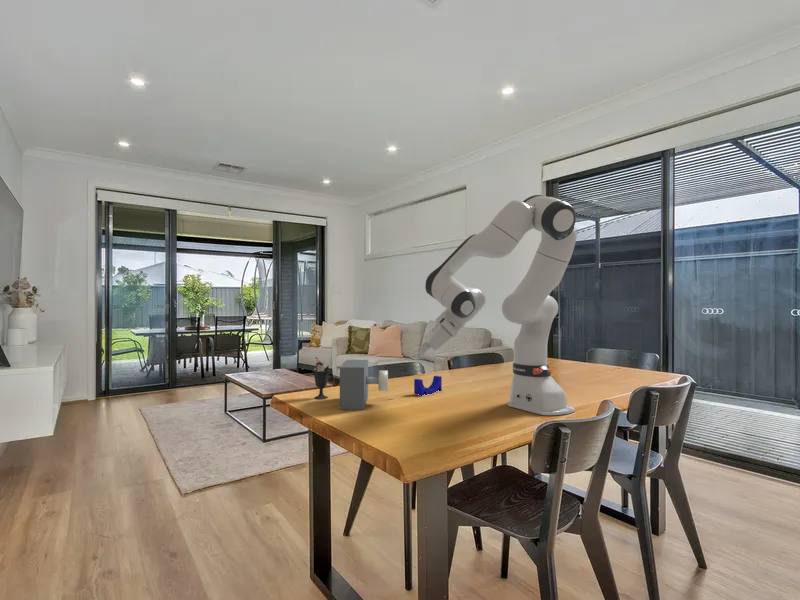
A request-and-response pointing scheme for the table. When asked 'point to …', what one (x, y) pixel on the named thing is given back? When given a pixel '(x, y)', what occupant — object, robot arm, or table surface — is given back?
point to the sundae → (321, 378)
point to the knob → (379, 380)
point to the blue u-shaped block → (433, 387)
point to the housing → (353, 385)
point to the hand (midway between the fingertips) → (419, 353)
